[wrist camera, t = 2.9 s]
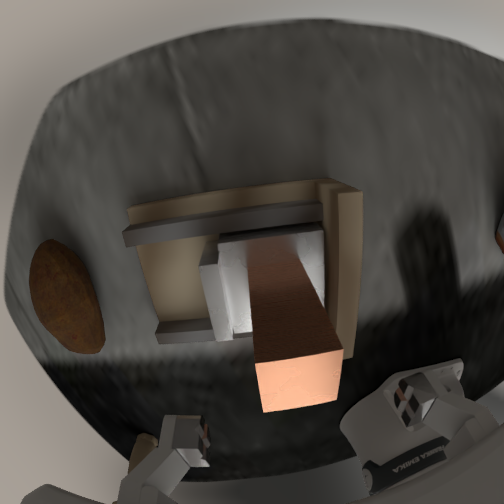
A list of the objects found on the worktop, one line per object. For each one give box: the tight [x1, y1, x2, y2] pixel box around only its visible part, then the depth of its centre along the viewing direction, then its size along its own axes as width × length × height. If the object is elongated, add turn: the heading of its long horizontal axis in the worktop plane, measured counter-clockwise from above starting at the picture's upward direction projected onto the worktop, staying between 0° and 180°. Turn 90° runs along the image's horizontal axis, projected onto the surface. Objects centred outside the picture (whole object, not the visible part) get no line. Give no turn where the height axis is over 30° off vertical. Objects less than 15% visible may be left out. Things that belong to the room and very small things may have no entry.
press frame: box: [122, 178, 363, 360], centre depth 20 cm, size 16×13×6 cm
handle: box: [112, 433, 158, 504], centre depth 27 cm, size 5×6×15 cm
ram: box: [198, 221, 344, 412], centre depth 16 cm, size 8×7×12 cm
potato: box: [29, 239, 106, 354], centre depth 20 cm, size 7×12×7 cm, turn 14°
